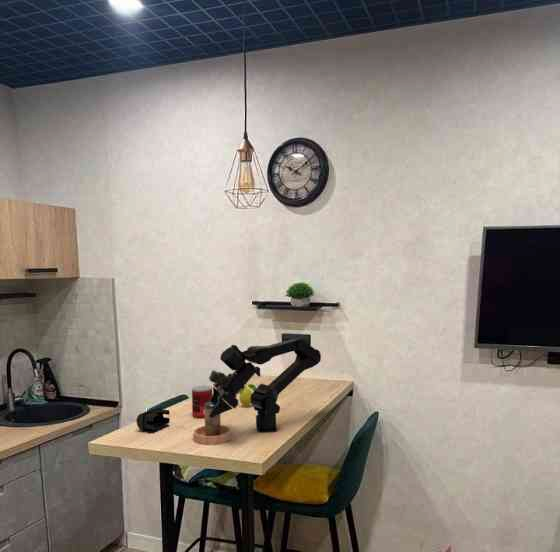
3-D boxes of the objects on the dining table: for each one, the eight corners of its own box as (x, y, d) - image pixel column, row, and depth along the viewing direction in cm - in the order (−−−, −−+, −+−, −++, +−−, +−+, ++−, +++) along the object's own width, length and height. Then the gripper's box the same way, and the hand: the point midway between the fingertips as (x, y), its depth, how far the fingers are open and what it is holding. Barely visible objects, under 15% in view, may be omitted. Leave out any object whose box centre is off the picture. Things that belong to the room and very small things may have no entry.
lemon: (257, 405, 200) (256, 381, 200) (250, 409, 195) (250, 384, 195) (243, 403, 203) (242, 380, 203) (236, 407, 197) (235, 383, 197)
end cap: (155, 423, 177) (154, 405, 177) (170, 426, 174) (170, 407, 174) (136, 431, 168) (135, 412, 168) (151, 434, 165) (151, 414, 165)
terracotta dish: (230, 431, 167) (230, 423, 167) (232, 443, 155) (232, 435, 155) (194, 433, 166) (194, 425, 166) (192, 445, 153) (192, 438, 153)
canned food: (215, 413, 190) (214, 385, 190) (208, 419, 182) (208, 390, 182) (196, 412, 191) (196, 384, 191) (189, 418, 183) (189, 389, 183)
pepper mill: (220, 433, 163) (220, 401, 163) (220, 438, 158) (220, 405, 158) (205, 434, 162) (204, 401, 162) (204, 439, 157) (204, 406, 157)
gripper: (218, 357, 170) (188, 391, 167) (227, 367, 152) (193, 404, 149) (241, 378, 172) (210, 411, 169) (252, 389, 154) (218, 427, 151)
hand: (208, 413), depth 160 cm, fingers open, 9 cm apart
